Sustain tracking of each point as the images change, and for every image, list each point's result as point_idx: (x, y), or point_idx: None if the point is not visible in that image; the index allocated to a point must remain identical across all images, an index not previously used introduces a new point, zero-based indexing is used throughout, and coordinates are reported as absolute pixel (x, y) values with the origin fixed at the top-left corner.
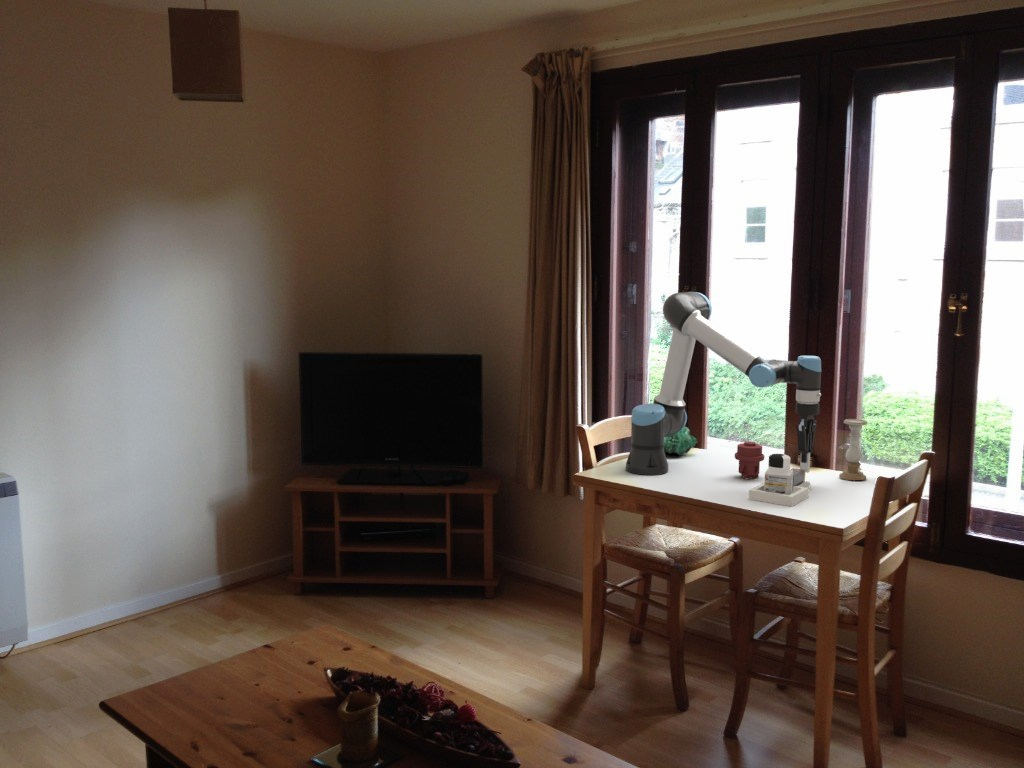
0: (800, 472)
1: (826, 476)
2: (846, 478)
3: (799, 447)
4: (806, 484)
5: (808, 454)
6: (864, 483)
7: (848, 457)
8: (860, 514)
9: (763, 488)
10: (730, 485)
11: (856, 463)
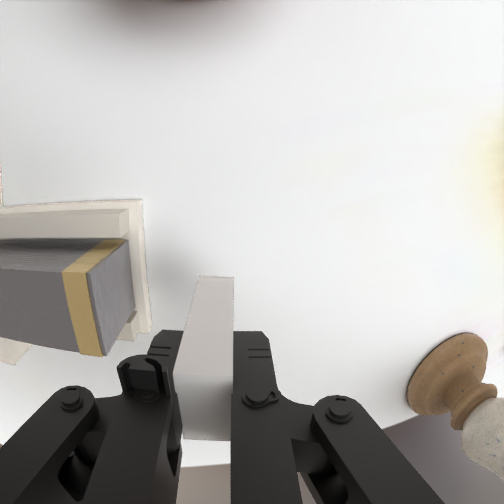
0: (32, 343)
1: (451, 292)
2: (414, 379)
3: (35, 433)
4: None
5: (183, 429)
6: (385, 424)
7: (474, 428)
8: None
9: None
10: (13, 12)
11: (460, 428)
